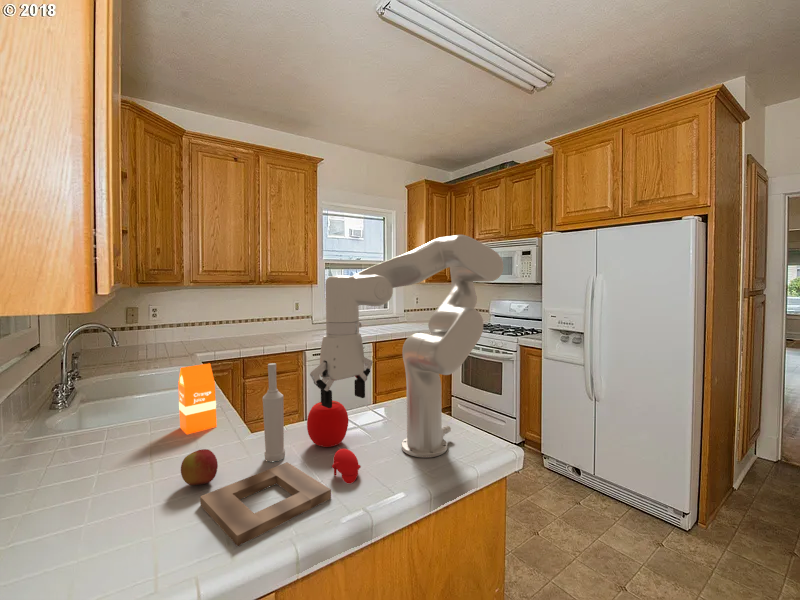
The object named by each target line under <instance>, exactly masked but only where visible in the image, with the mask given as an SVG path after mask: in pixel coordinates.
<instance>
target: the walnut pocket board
mask: <svg viewBox="0 0 800 600" xmlns="http://www.w3.org/2000/svg"><path fill="white" fill-rule="evenodd" d="M274 484H276V485H277V484H278V487H280V486H281V487H280V488H282V489H283V490H284V491H286V492H287V493H288V494H290V496H289V497H287V498H284V499H282V500H279V501H277V502H276V503H274V504H271V505H269V506H267V507H265V508H263V509H261V510H258V511H257V512H253V511H252V510H251V509H250V508H249V507H248V506H247V505H245V503H243V502H242V501H241V500H242V498H243V499H245V498H247V496H248V497H249V495H250V496H253V495H254V493H255V494H257V493H259V492H261V490H262V491H264V490H266V489H268V488H267V487H269V486H271V487H273V486H275V485H274ZM272 485H273V486H272ZM265 488H266V489H265ZM269 488H270V487H269ZM263 489H264V490H263ZM258 491H259V492H258ZM256 492H257V493H256ZM244 497H245V498H244ZM240 499H241V500H240ZM199 500H200V507H201V508H202V509H203V510H204V511H205V512H206V513H207V514H208V516H209V517H210V518H211V519H212V521H214V522H215V523H216V524H217V525H218V527H219V528H220V529H221V530H222V531H223V532H224V533H225V535H226V536H227V537H228V538H229V539H230V540H231V541H232V543H234V544H235V546H236V547H240V546H242V545H244V544H246V543H248V542H250V541H251V540H253V539H256V538H257V537H259V536H261V535H264V534H265V533H267V532H269V531H271V530H273V529H275V528H277V527H279V526H280V525H282V524H285V523H287V522H289V521H291V520H292V519H294V518H296V517H298V516H300V515H302V514H304V513H306V512H308V511H310V510H311V509H313V508H315V507H318V506H319V505H321V504H323V503H325V502H327V501H329V500H332V489H331V488H330V487H328V486H326V484H325V485H324V484H323V483H321V482H320V481H318V480H317V479H315V478H313V477H312V476H310V475H309V474H308V473H305V472H304V471H303V470H301V469H299V468H297V467H296V466H294V465H292V464H291V463H289V462H288V461H287V462H283V463H281V464H279V465H276V466H274V467H272V468H268V469H266V470H264V471H261V472H259V473H256V474H254V475H251V476H248V477H245V478H243V479H241V480H238V481H236V482H235V481H234V482H232V483H231V484H228V485H225V486H223V487H219V488H218V489H216V490H213V491H210V492H207V493H205V494H202V495H200V498H199Z"/></svg>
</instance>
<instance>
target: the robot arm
mask: <svg viewBox="0 0 800 600" xmlns="http://www.w3.org/2000/svg"><path fill="white" fill-rule="evenodd" d="M447 268H449V273H450V279H451V287H450V290H449V292H448V293H447V295H446V297H445V298H444V299H443V300H442V302H441V303H440V304H439V306H438V307H437V308H435V309H436V310H435V311H434V312H433V313H432V314H431V316H430V318H429V320H428V324H427V325H428V330H429V332H430V333H426V332H425V333H424V332H419V333H417V332H415V333H413V334H411V335H409V336H408V337H407V338H406V340H405V341H404V343H403V345H402V352H401V353H402V359H403V364H404V370H405V378H406V380H405V381H406V382H405V383H406V438H404V439H403V440H402V441H401V449H402V451H403V452H404V453H406V454H407V455H409V456H411V457H416V458H424V459H425V458H434V457H435V458H437V457H439V456H441V455H443V454H445V453H446V452H447V450H448V442H447V441H446V439H444V437H445V435H446V434H448V433H450V432H451V431H452V430H451V429H452V428H451V427H450V425H445V426H443V427H442V425H443V424H442V422H443V421H442V417H443V416H442V410H443V409H442V381H441V380H442V379H441V377H440V375H443V376H449V375H452V374H454V373H455V372H457V370H459V369H460V367H461V366H462V365H463V363H464V362H465V361H466V359H467V358H468V356H469V355H470V353H471V352H472V351H473V349H475V347H476V345H477V344H478V343H479V341H480V338H481V337H482V334H483V330H484V320H483V316H482V314H481V313H480V312H479V310H477V309H475V307H476V305H477V301H478V297H477V292H476V289H475V284H474V283H475V282H477V283H478V282H479V283H481V282H484V283H486V282H493V281H497V280H498V279H500V277H501V276H502V274H503V272H504V261H503V258H502V256H501V255H500V254H499V253H498V252H497V251H496V250H494V249H493V248H490V247H489V246H487V245H485V244H484V243H482V242H480V241H478V240H477V239H475V238H473V237H472V236H471V237H470V236H468V235H465V234H454V235H446V236H440V237H437V238H434V239H432V240H431V241H428V242H427V243H425V244H422V245H421V246H418V247H416V248H413V249H412V250H410V251H407V252H405V253H403V254H401V255H397V256H395V257H392V258H391V259H388V260H385V261H383V262H380V263H376V264H375V265H372V266H370V267H368V268H365V269H363V270H361V271H359V272H357V273H354V274H352V275H332V276H328V277H327V278H326V279H325V283H324V284H325V321H326V322H325V324H326V325H325V327H326V328H325V331H326V335H323V337H322V339H321V340H322V341H321V345H320V353H319V354H320V356H319V365H318V366H317V367H315V368H314V369H313V370H311V371H310V373H309V376H310V377H311V379H312V381H313V384H314V385H316V387H317V388H318V389H320V402H321V403H322V406H324V407H327V408H331V407H332V401H333V391H332V390H331V388H332V386H333V384H334V383H335V382H336V381H339V380H345V379H349V378H354V377H355V378H356V379H354V396H355V397H358V398H361V399H365V398H366V381H367V380H368V376H369V375H370V373H371V368H372V367H373V366H372V365H373V360H371V359H369V358H368V357H365V354H364V351H365V350H364V344H363V339H362V335H361V333H360V328H362V322H360V320H359V318H360V316H359V315H360V312H359V311H360V310H359V309H360V306H368V307H381V306H383V305H385V304H387V303H388V302H389V301H390V300H391V299H392V296H393V292H394V288H395V289H396V288H401V287H408V286H412V285H416V284H419V283H421V282H424V281H425V280H427V279H429V278H430V277H432V276H434V275H436V274H438V273H439V272H441V271H443V270H445V269H447ZM321 378H322V379H321Z"/></svg>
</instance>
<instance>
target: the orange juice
mask: <svg viewBox="0 0 800 600" xmlns="http://www.w3.org/2000/svg"><path fill="white" fill-rule="evenodd" d="M177 388H178V389H177V390H178V409H179V427H180V429H181V430H182V432H183V433H184V434H186V435H190V434H194V433H199V432H202V431H206V430H210V429H213V428H217V427H218V425H217V401H216V382H215V377H214V374H213V369H212V365H211V363H202V364H196V365H191V366H182V367H180V369H179V377H178V387H177Z"/></svg>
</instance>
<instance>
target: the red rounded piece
mask: <svg viewBox="0 0 800 600" xmlns="http://www.w3.org/2000/svg"><path fill="white" fill-rule="evenodd" d="M361 467H362V466H361V465H360V464H359V461H358V458H357V455H356V454H355V453H354V452H353V451H351V450H350V449H349V448H339V449H338V450H337V451H335V453H334V455H333V463H332V465H331V468H332V469H333V475H334V477H335V476H337V475H338V474H337V473H338V472H339V473H340V474H341V478H342V481H343V482H345V483H346V484H350V485H352V484H353V483H354V482H355V481H356V480H357V477H358V474H359V470H360V469H361Z"/></svg>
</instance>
